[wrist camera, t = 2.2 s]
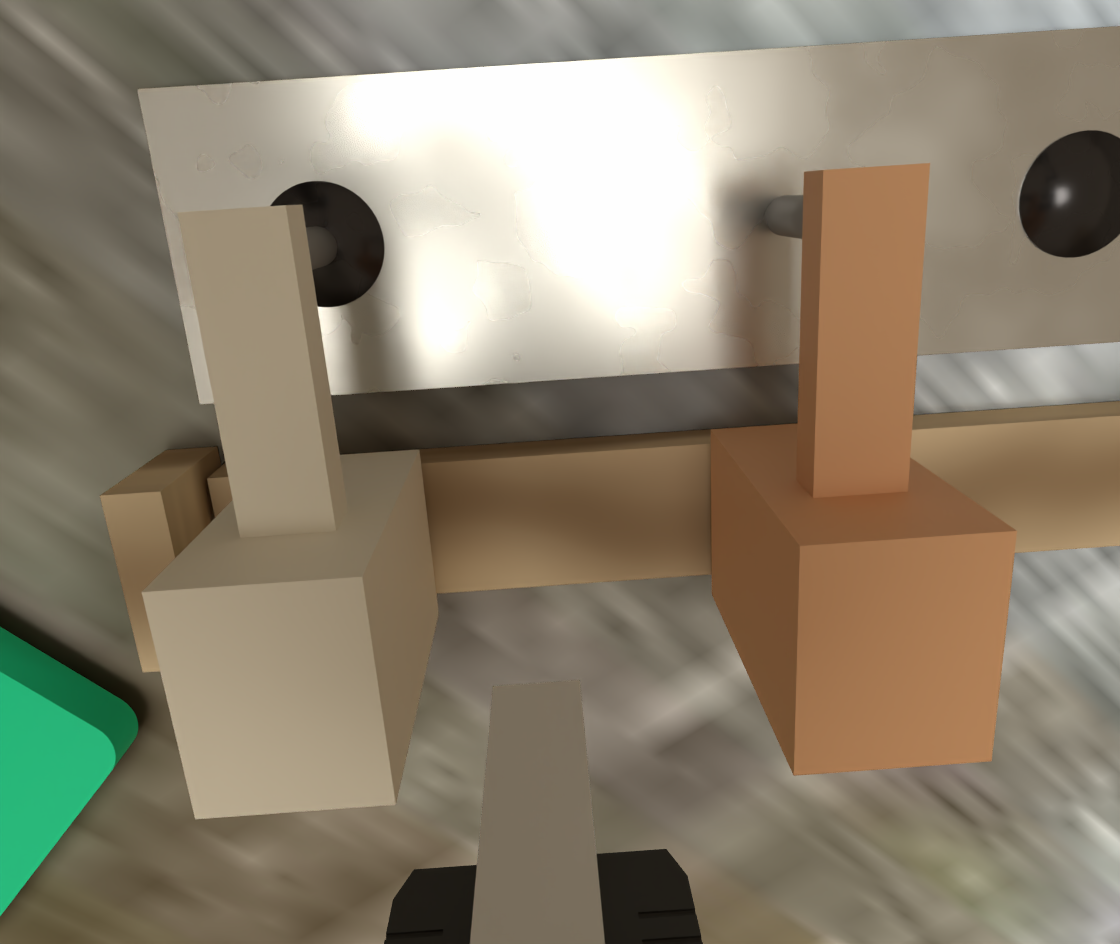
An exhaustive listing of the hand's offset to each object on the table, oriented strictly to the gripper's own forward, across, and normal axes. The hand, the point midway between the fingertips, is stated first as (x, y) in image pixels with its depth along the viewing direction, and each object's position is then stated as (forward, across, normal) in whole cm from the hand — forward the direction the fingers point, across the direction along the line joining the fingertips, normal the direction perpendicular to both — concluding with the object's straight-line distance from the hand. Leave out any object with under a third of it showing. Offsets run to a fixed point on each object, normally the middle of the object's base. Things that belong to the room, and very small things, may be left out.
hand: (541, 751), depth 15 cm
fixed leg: (+10, -5, +4) cm, 12 cm away
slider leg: (+10, +7, +4) cm, 13 cm away
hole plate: (+12, +5, +8) cm, 15 cm away
